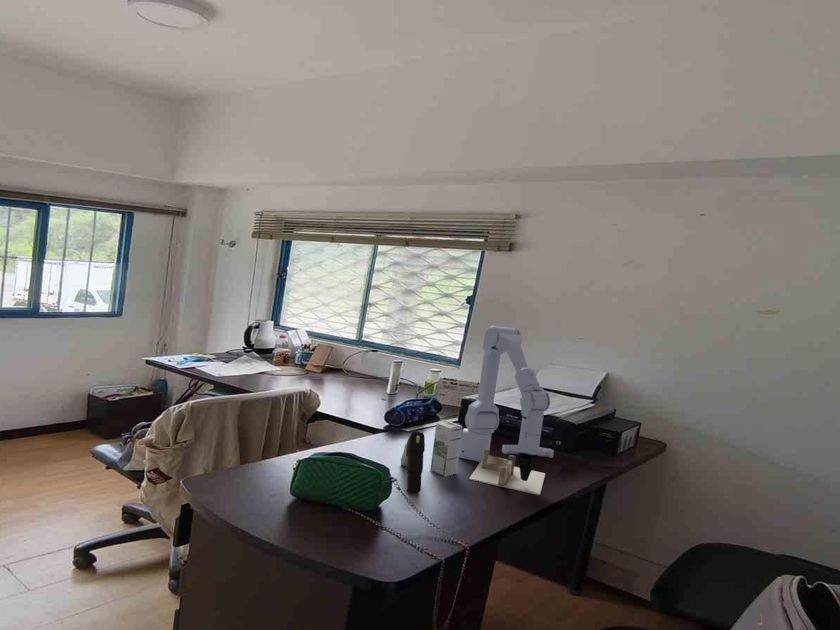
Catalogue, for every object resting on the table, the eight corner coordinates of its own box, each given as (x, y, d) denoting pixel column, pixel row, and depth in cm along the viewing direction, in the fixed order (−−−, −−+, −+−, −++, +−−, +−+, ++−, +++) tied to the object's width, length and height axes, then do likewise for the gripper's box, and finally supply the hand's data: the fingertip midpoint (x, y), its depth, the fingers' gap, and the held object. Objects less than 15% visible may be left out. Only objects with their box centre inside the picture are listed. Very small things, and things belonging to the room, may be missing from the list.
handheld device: (407, 488, 146) (411, 430, 152) (396, 500, 165) (400, 448, 172) (422, 490, 146) (425, 431, 153) (410, 501, 166) (413, 449, 172)
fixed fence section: (481, 468, 175) (483, 451, 175) (482, 466, 177) (484, 449, 176) (512, 475, 172) (515, 457, 172) (513, 473, 174) (516, 456, 174)
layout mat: (469, 479, 165) (469, 477, 165) (481, 461, 184) (482, 459, 184) (539, 495, 159) (540, 493, 159) (545, 474, 178) (545, 473, 178)
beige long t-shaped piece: (506, 473, 172) (508, 456, 172) (511, 474, 172) (514, 458, 172) (497, 484, 161) (499, 467, 161) (503, 486, 161) (505, 468, 160)
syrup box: (457, 474, 168) (463, 425, 167) (444, 477, 164) (450, 427, 163) (442, 467, 172) (448, 420, 171) (429, 471, 168) (435, 422, 167)
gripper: (510, 434, 157) (503, 482, 158) (560, 438, 160) (553, 486, 160) (502, 427, 164) (496, 473, 165) (550, 431, 167) (544, 477, 167)
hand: (523, 479), depth 163 cm, fingers closed
